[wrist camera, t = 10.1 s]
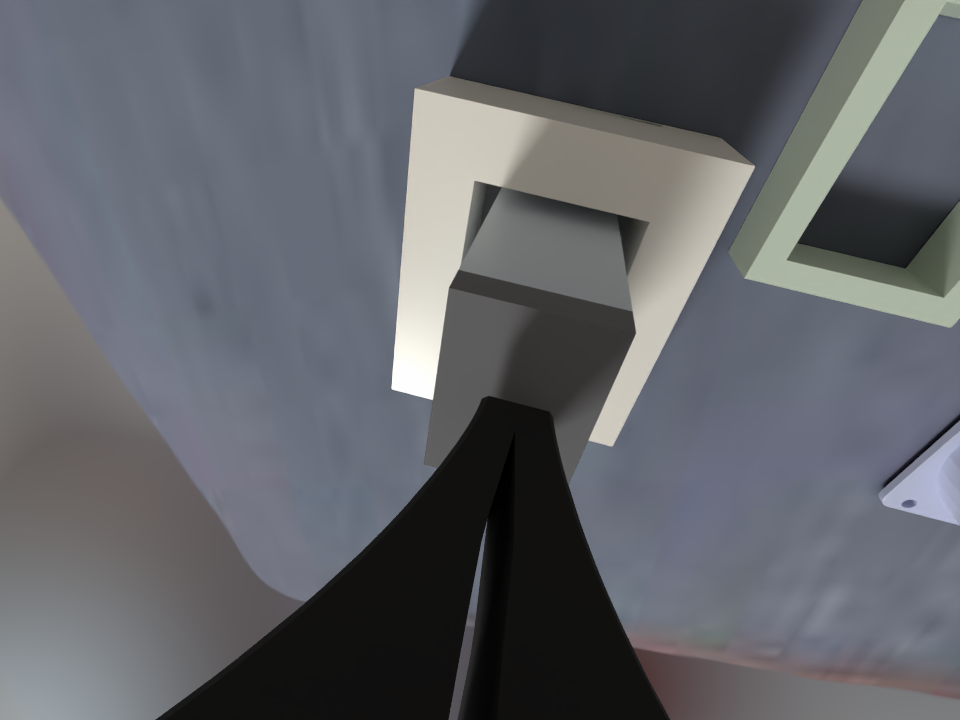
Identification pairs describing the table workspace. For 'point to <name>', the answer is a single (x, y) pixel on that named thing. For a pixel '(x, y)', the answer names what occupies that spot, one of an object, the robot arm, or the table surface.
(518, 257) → the plug
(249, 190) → the table surface
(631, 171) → the frame
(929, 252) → the pale green rectangular frame
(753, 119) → the table surface
